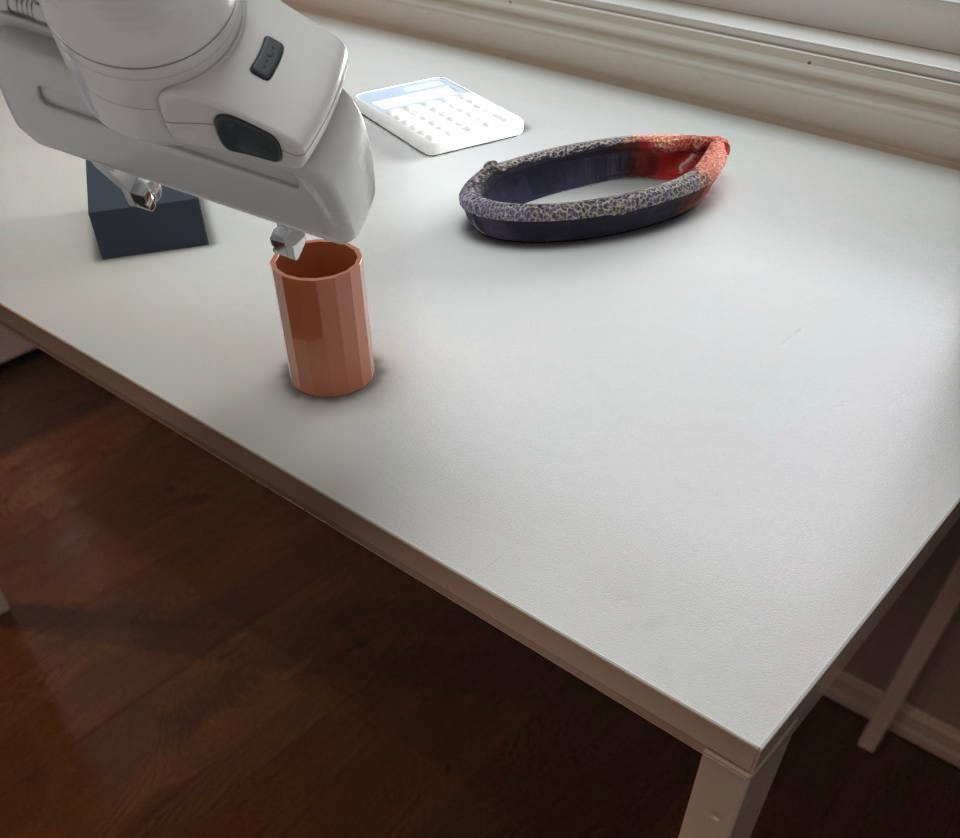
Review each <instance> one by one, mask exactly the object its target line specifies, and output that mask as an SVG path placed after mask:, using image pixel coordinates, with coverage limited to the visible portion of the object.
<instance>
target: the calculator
mask: <svg viewBox="0 0 960 838" xmlns="http://www.w3.org/2000/svg"><path fill="white" fill-rule="evenodd" d="M353 100H354V102H355V103H356V105H357V106H358V108H359V110H360V112H361V115H364V116H365V117H367V118H368V119H370V120H371V121H373V122H374V123H376V124H378V126H379V125H380V127H382V128H383V129H385V130H387V131H388V132H389V133H392V134H393V135H395V136H396V137H398V138H399V139H401V140H403V141H404V142H406V143H407V144H408V145H410V146H411V147H413V148H415V149H417V150H418V151H420V152H421V153H423V154H425V155H428V156H436V155H441V154H445V153H450V152H453V151H458V150H463V149H467V148H471V147H475V146H478V145H483V144H488V143H491V142H495V141H498V140H499V141H500V140H503V139H506V138H511V137H515V136H519V135H521V134H522V133H523V131H524V127H525V123H524V120H523V119H522V117H521V116H518V115H517V114H515V113H513V112H511V111H509V110H508V109H506V108H504V107H503V106H500V105H498V104H496V103H495V102H492V101H491V100H488V99H487V98H485V97H484V96H481V95H479V94H478V93H476V92H474V91H472V90H470V89H468V88H466V87H464V86H462V85H460V84H458V83H457V82H455V81H453V80H451V79H449V78H447V77H445V76H444V77H443V76H434V77H429V78H424V79H419V80H413V81H410V82H405V83H401V84H396V85H391V86H386V87H382V88H376V89H371V90H367V91H362V92H359V93H355V95H354V97H353Z"/></svg>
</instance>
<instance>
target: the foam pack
mask: <svg viewBox="0 0 960 838" xmlns="http://www.w3.org/2000/svg"><path fill="white" fill-rule="evenodd" d="M85 171H86V172H85V175H86V193H87V194H86V195H87V213H88V214H87V215H88V217H89V220H90V223H91V228H92V230H93V233H94V236H95V239H96V243H97V246H98V251H99V253H100V256H101V259H102V260H109V259H116V258H122V257H123V258H124V257H132V256H136V255H137V256H138V255H144V254H153V253H157V252H159V253H160V252H166V251H172V250H180V249H189V248H194V247H201V246H208V245H210V242H209V238H208V234H207V229H206V224H205V220H204V215H203V211H202V207H201V202H200V198H199V197H196V196H193V195H190V194H187V193H184V192H181V191H178V190H175V189H172V188H169V187H166V186H163V185H161V187H162V194H161V197H160V200H159V201H157V202H156V208H155V210H154V211H153V212H152V211H148V210H145V209H141V208H138V207H135V206H132V205H129V204H128V202H127V200H126V198H125V195H124V193H123V191H122V189H121V188H119V187H118V186H116V185H115V184H114V183H113V182H112V181H111V180H110V179H109V178H107V177H106V176H105V175H104V174H103V173H102V172H101V171H99V170H98V169H97V168H96V167H95V166H94V165H93V163H92V161H89V160H86V159H85Z"/></svg>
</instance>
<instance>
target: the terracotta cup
mask: <svg viewBox="0 0 960 838" xmlns="http://www.w3.org/2000/svg"><path fill="white" fill-rule="evenodd" d="M269 264H270V266H269V267H270V271H271V277H272V282H273V283H272V284H273V288H274V294H275V299H276V304H277V310H278V311H277V312H278V315H279V317H278V318H279V322H280V327H281V333H282V340H283V344H284V348H285V350H284V351H285V355H286V361H287V362H286V363H287V368H288V372H289V378H290V381H291V385H292V386H293V387H294V388H295V389H297V390H298V391H300V392H301V393H302V394H303V393H304V394H306V395H310V396H313V397H317V398H318V397H319V398H320V397H322V398H335V397H341V396H346V395H351V394H353V393H355V392H358V391H360V390H362V389H364V388H365V387H366V386H368V385H369V384H370V383H371V382H372V380H373V379H374V375H375V372H376V368H375V359H374V358H375V357H374V349H373V340H372V330H371V322H370V312H369V311H370V310H369V302H368V301H369V300H368V294H367V284H366V283H367V282H366V275H365V274H366V273H365V264H364V256H363V254H362V252H361V249H359V247H357V246H355V245H353V244H351V243H350V242H349V243H347V244H343V245H341V244H336V243H333V242H331V241H328V240H325V239H322V238H316V239H309V240H305V245H304V247H303V249H302V252H301V254H300V256H299V258H298V260H297V261H296V260H293V259H290V258H287V257H285V256H282V255H279V254H276V253H274V254H273V256H272V257H271V259H270V262H269Z"/></svg>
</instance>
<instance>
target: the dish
mask: <svg viewBox="0 0 960 838" xmlns="http://www.w3.org/2000/svg"><path fill="white" fill-rule="evenodd" d="M730 154H731V142H730V141H729V139H727V138H724V137H723V136H721V135H719V134H718V135H700V134H699V135H698V134H672V133H671V134H633V135H622V136H613V137H612V136H611V137H605V138H597V139H592V140H584V141H580V142H574V143H570V144H564V145H559V146H555V147H551V148H546V149H543V150H542V149H541V150H538V151H534V152H531V153H527V154H524V155H521V156H517V157H513V158H511V159H507V160H503V161H500V162H498V161H497V160H494V159H493V160H488V161H485V163H484V164H483V166H482V168H481V169H479V170H478V171H477V172H475V173H474V174H473V175H472V176H471V177H470V178H469V179H468V180H467V181H466V182H465V183H464V184H463V186H462V187H461V189H460V191H459V193H458V202H459V206H460V207H461V208H462V209H463V211H464V213H465V215H466V219H467V220H468V221H469V223H470V224H471V225H472V226H473V227H474V228H475V229H476V230H478V231H479V232H480V233H481V234H483V235H485V236H487V237H491V238H494V239H497V240H504V241H514V242H532V243H533V242H534V243H540V242H541V243H544V242H545V243H547V242H567V241H577V240H585V239H593V238H600V237H606V236H610V235H611V236H612V235H616V234H621V233H625V232H628V231H629V232H630V231H633V230H637V229H641V228H645V227H647V226H651V225H654V224H657V223H661V222H663V221H666V220H669V219H671V218H674V217H676V216H679V215H681V214H683V213H686V212H688V211H689V210H691V209H693V208H694V207H695V206H697V205H698V204H699V203H700V202H701V201H703V199H704V198H705V196H707V194H708V192H709V191H710V190H711V188H712V186H713V184H714V183H715V182H716V180H717V179H718V178H719V176H720V175H721V173H722V171H723V169H724V167H726V164H727V160H728V156H730ZM629 178H631V179H632V178H642V179H649V180H657V181H665V182H662V183H660V184H659V183H658V184H656V185H653V186H650V187H646V188H642V189H638V190H634V191H629V192H625V193H620V194H615V195H614V194H613V195H609V196H603V197H598V198H591V199H584V200H583V199H582V200H576V201H574V200H573V201H564V202H563V201H562V202H551V203H550V202H549V203H530V202H533V201H537V200H539V199H542V198H545V197H549V196H551V195H555V194H558V193H562V192H567V191H570V190H575V189H577V188H578V189H579V188H582V187H587V186H590V185H595V184H599V183H603V182H608V181H613V180H620V179H629Z"/></svg>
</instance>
